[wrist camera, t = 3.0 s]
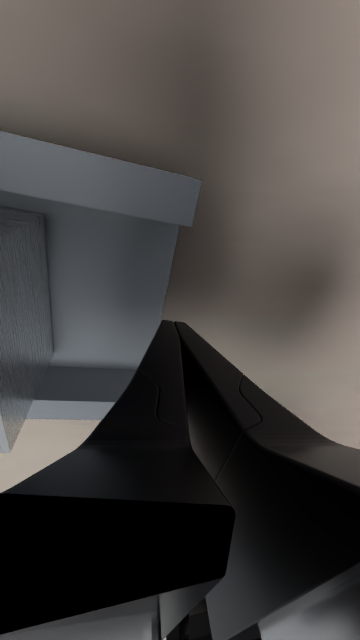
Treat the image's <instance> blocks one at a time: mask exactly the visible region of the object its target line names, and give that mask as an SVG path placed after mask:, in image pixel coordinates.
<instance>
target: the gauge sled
mask: <svg viewBox="0 0 360 640" xmlns="http://www.w3.org/2000/svg"><path fill="white" fill-rule="evenodd" d="M52 358H53V342H52V328H51V314H50V300H49V286H48V272H47V258H46V244H45V230H44V216H43V214H38V213H33V212H27V211H22V210H16V209H11V208H5V207H0V453H10V452H11V450H12V448H13V445H14V443H15V441H16V439H17V436H18V434H19V432H20V430H21V428H22V425H23V423H24V421H25V419H26V416H27V414H28V412H29V410H30V407H31V405H32V403H33V401H34V398H35V396H36V394H37V392H38V389H39V387H40V385H41V383H42V380H43V378H44V376H45V374H46V372H47V369H48V367H49V365H50V363H51V360H52Z"/></svg>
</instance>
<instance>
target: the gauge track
mask: <svg viewBox="0 0 360 640" xmlns="http://www.w3.org/2000/svg"><path fill="white" fill-rule="evenodd" d="M201 183H202V180H199V179H195V178H192V177H188V176H185V175H181V174H177V173H173V172H169V171H165V170H161V169H156V168H152V167H148V166H144V165H140V164H136V163H132V162H128V161H124V160H120V159H115V158H111V157H107V156H103V155H99V154H95V153H91V152H87V151H83V150H79V149H74V148H70V147H66V146H62V145H58V144H54V143H50V142H46V141H42V140H37V139H33V138H29V137H25V136H21V135H17V134H13V133H9V132H5V131H1V130H0V207H5V208H11V209H16V210H22V211H27V212H33V213H38V214H43V216H44V230H45V244H46V258H47V272H48V286H49V300H50V314H51V328H52V342H53V358H52V360H51V363H50V365H49V367H48V369H47V372H46V374H45V376H44V378H43V380H42V383H41V385H40V387H39V389H38V392H37V394H36V396H35V398H34V401H33V403H32V405H31V407H30V410H29V412H28V414H27V416H26V419H75V420H102V419H103V418H104V417H105V415H106V414H107V413H108V412H109V410H110V409H111V408H112V406H113V405H114V404H115V402H116V401H117V400H118V399H119V397H120V396H121V394H122V393H123V391H124V390H125V389H126V387H127V386H128V384H129V382H130V380H131V379H132V377H133V375H134V373H135V371H136V370H137V368H138V366H139V364H140V362H141V360H142V358H143V356H144V354H145V353H146V351H147V349H148V347H149V345H150V343H151V341H152V339H153V337H154V335H155V333H156V331H157V329H158V328H159V326H160V322H161V317H162V312H163V307H164V302H165V297H166V292H167V287H168V282H169V277H170V272H171V267H172V262H173V257H174V252H175V247H176V242H177V237H178V231H179V226H180V225H182V226H188V227H192V224H193V219H194V215H195V210H196V206H197V201H198V197H199V192H200V188H201Z"/></svg>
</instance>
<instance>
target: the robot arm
mask: <svg viewBox="0 0 360 640" xmlns="http://www.w3.org/2000/svg"><path fill="white" fill-rule="evenodd" d="M165 637H166V640H360V449H355V448H351V447H347V446H344V445H341V444H338V443H336V442H334V441H331V440H329V439H328V438H326V437H324V436H322V435H321V434H319V433H318V432H316V431H315V430H314V429H312V428H311V427H310V426H308V425H307V424H306V423H304V422H303V421H302V420H300V419H299V418H298V417H296V416H295V415H294V414H292V413H291V412H290V411H288V410H287V409H286V408H285V407H283V406H282V405H281V404H279V403H278V402H277V401H275V400H274V399H273V398H271V397H270V396H269V395H268V394H266V393H265V392H264V391H263V390H261V389H260V388H259V387H258V386H257V385H256V384H254V383H253V382H252V381H251V380H250V379H249V378H247V377H246V376H245V375H243V373H242V372H241V371H239V370H238V369H237V368H236V367H235V366H234V365H233V364H231V363H230V362H229V361H228V360H227V359H226V358H225V357H223V356H222V355H221V354H220V353H219V352H218V351H217V350H215V349H214V348H213V347H212V346H211V345H210V344H209V343H207V342H206V341H205V340H204V339H203V338H202V337H201V336H200V335H198V334H197V333H196V332H195V331H194V330H193V329H192V328H190V327H189V326H188V325H187V324H186V323H184V322H177V321H175V322H173V321H168V320H162V322H161V324H160V326H159V328H158V329H157V331H156V333H155V335H154V337H153V339H152V341H151V343H150V345H149V347H148V349H147V351H146V353H145V354H144V356H143V358H142V360H141V362H140V364H139V366H138V368H137V370H136V371H135V373H134V375H133V377H132V379H131V380H130V382H129V384H128V386H127V387H126V389H125V390H124V391H123V393H122V394H121V396H120V397H119V399H118V400H117V401H116V402H115V404H114V405H113V406H112V408H111V409H110V410H109V412H108V413H107V414H106V415H105V417H104V418H103V419H102V421H101V422H100V423H99V424H98V426H97V427H96V428H95V430H94V431H93V432H92V433H91V435H90V436H89V437H88V438H87V439H86V440H85V441H84V442H83V443H82V444H81V445H80V446H79V447H78V448H77V449H75V450H74V451H72V452H71V453H69V454H67V455H66V456H64V457H62V458H61V459H59V460H57V461H56V462H54V463H52V464H51V465H49V466H47V467H45V468H44V469H42V470H40V471H39V472H37V473H35V474H34V475H32V476H30V477H29V478H27V479H25V480H24V481H22V482H20V483H18V484H17V485H15V486H13V487H12V488H10V489H8V490H6V491H4V492H2V493H0V640H163V639H164V638H165Z"/></svg>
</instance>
